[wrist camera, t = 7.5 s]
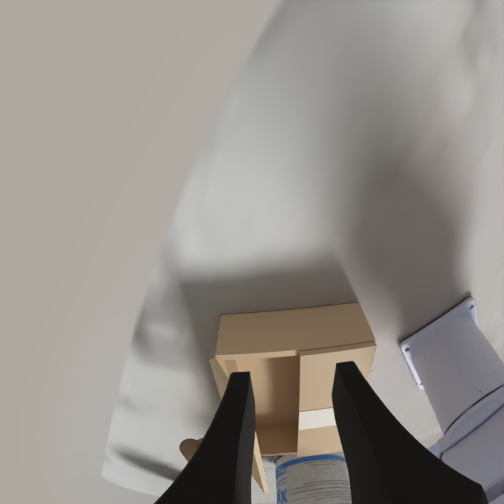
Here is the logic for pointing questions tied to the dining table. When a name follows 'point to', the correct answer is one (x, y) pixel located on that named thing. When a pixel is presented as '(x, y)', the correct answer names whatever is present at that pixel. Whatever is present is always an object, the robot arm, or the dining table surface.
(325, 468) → the supplement tub
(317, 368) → the carton
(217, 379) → the far flap
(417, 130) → the dining table surface
